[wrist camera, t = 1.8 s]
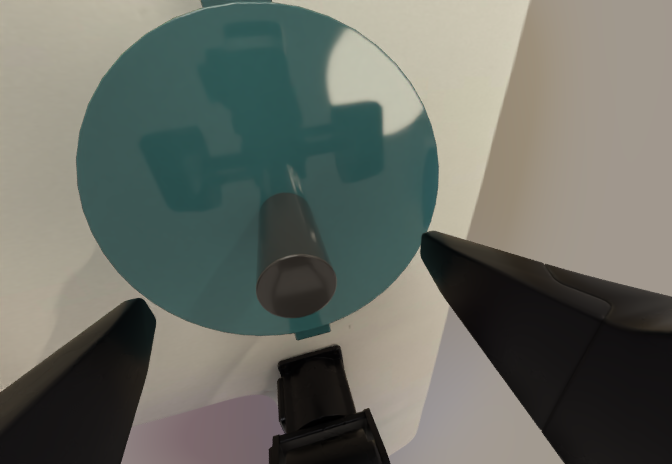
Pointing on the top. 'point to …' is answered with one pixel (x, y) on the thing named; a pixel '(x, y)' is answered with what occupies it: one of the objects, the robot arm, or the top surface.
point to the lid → (257, 168)
